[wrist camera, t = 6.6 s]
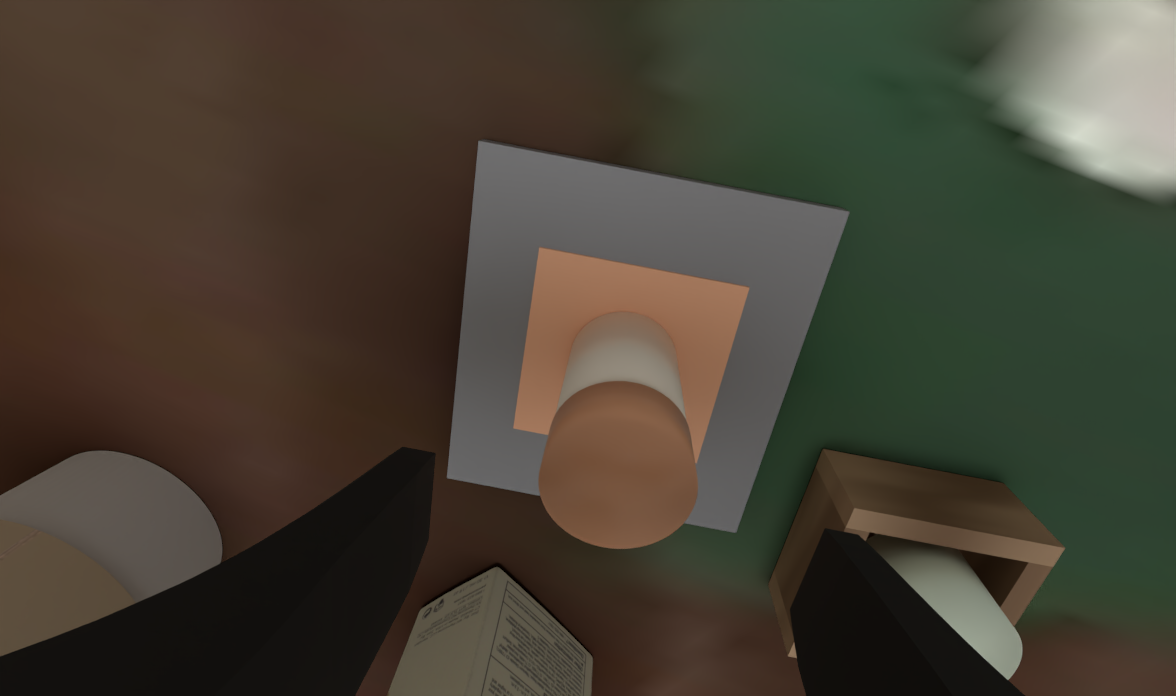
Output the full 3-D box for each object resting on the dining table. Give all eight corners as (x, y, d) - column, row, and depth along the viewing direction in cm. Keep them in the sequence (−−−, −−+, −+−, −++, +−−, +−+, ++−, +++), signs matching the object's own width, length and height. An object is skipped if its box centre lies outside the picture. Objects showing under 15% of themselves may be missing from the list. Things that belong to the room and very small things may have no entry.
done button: (985, 541, 18) (1049, 621, 15) (934, 629, 19) (983, 717, 17) (863, 518, 18) (905, 594, 15) (822, 607, 19) (852, 692, 17)
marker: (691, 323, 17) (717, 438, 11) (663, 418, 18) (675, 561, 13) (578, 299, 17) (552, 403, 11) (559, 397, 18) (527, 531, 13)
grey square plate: (842, 207, 16) (851, 212, 15) (733, 521, 21) (736, 535, 20) (483, 139, 16) (477, 140, 15) (451, 467, 20) (446, 479, 20)
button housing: (1003, 482, 19) (1065, 548, 16) (928, 615, 22) (971, 691, 19) (822, 448, 19) (854, 508, 16) (768, 584, 22) (787, 656, 19)
